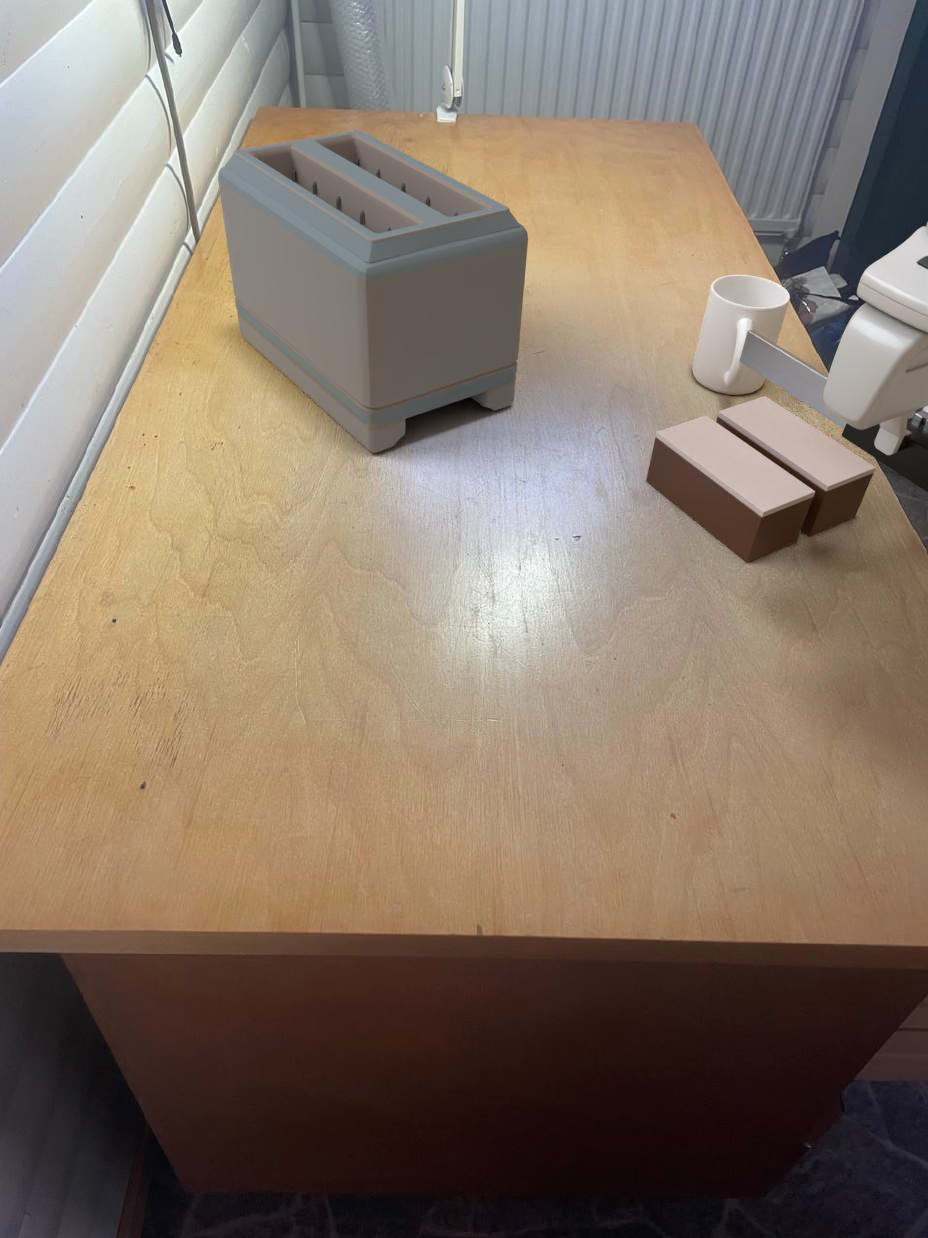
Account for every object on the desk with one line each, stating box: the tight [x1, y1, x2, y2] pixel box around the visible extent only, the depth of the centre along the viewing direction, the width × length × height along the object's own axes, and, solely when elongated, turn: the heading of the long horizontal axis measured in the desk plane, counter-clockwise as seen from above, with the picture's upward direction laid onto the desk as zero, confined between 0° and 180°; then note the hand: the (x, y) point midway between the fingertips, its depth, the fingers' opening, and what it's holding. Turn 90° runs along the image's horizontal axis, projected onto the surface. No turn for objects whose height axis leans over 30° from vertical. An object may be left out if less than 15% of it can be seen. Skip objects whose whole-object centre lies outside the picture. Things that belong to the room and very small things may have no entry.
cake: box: [645, 395, 877, 563], centre depth 85 cm, size 14×14×6 cm
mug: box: [692, 274, 791, 396], centre depth 99 cm, size 12×8×10 cm
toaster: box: [217, 129, 529, 454], centre depth 96 cm, size 19×33×20 cm, turn 36°
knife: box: [739, 330, 928, 493], centre depth 75 cm, size 22×3×3 cm, turn 31°
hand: (904, 442), depth 70 cm, fingers closed on knife, 2 cm apart
